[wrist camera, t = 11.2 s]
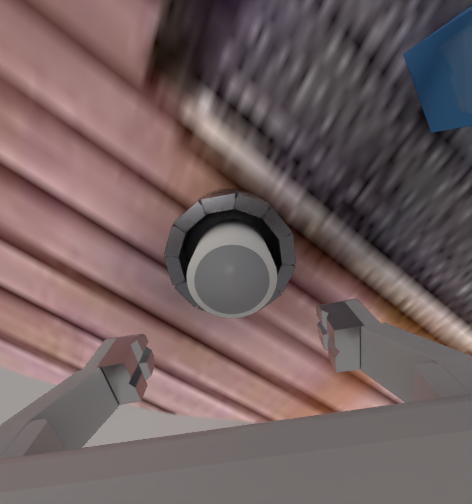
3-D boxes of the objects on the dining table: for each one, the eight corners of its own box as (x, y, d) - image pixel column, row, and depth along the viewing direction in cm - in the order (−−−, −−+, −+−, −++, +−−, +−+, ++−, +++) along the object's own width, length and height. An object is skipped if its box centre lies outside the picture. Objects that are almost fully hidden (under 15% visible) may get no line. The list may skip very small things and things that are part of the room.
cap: (260, 212, 18) (272, 229, 13) (269, 276, 19) (282, 313, 15) (190, 225, 18) (174, 247, 13) (206, 286, 20) (197, 327, 15)
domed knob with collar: (274, 179, 20) (287, 183, 15) (286, 276, 23) (300, 304, 18) (168, 199, 20) (149, 209, 15) (194, 292, 23) (184, 324, 19)
